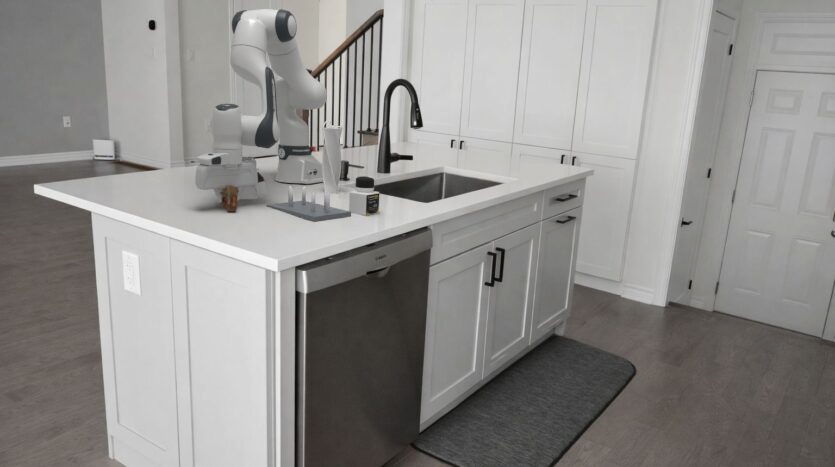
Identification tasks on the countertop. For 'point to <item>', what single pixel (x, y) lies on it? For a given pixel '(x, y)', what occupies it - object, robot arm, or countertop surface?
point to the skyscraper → (331, 158)
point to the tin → (229, 198)
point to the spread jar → (253, 189)
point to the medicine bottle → (364, 197)
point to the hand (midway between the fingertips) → (228, 201)
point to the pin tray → (310, 207)
